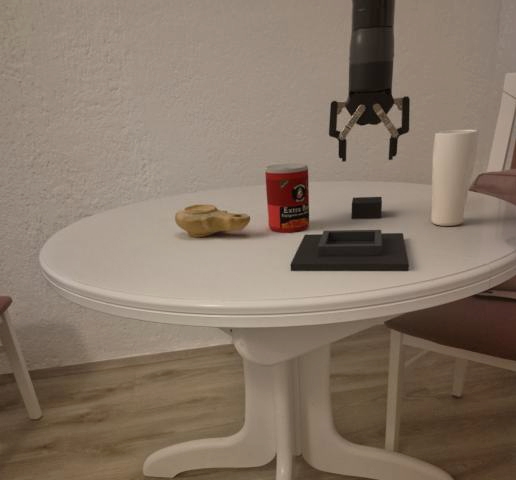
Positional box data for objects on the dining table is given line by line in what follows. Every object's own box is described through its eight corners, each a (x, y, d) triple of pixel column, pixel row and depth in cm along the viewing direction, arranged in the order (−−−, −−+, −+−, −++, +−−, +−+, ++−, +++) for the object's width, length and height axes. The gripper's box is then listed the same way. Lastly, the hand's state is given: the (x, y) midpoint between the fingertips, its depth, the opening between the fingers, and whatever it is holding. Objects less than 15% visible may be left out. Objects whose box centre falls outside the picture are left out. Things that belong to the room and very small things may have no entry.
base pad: (402, 239, 78) (403, 223, 77) (408, 270, 65) (409, 252, 63) (304, 240, 82) (304, 225, 81) (290, 270, 68) (290, 253, 67)
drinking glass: (441, 217, 90) (450, 129, 83) (475, 222, 85) (487, 129, 78) (418, 224, 86) (425, 133, 79) (451, 230, 81) (462, 133, 74)
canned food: (283, 235, 86) (280, 170, 81) (260, 227, 92) (256, 167, 87) (318, 227, 89) (317, 164, 84) (294, 220, 95) (292, 162, 90)
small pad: (380, 211, 97) (381, 196, 96) (381, 218, 92) (381, 202, 91) (352, 212, 98) (352, 197, 97) (351, 218, 93) (351, 203, 92)
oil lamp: (251, 238, 85) (249, 210, 83) (171, 244, 86) (167, 216, 83) (251, 225, 95) (249, 199, 92) (179, 230, 95) (175, 204, 93)
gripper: (328, 63, 81) (327, 164, 89) (415, 56, 78) (407, 161, 86) (331, 65, 88) (330, 159, 95) (412, 58, 85) (405, 156, 92)
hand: (367, 160), depth 91 cm, fingers open, 8 cm apart
